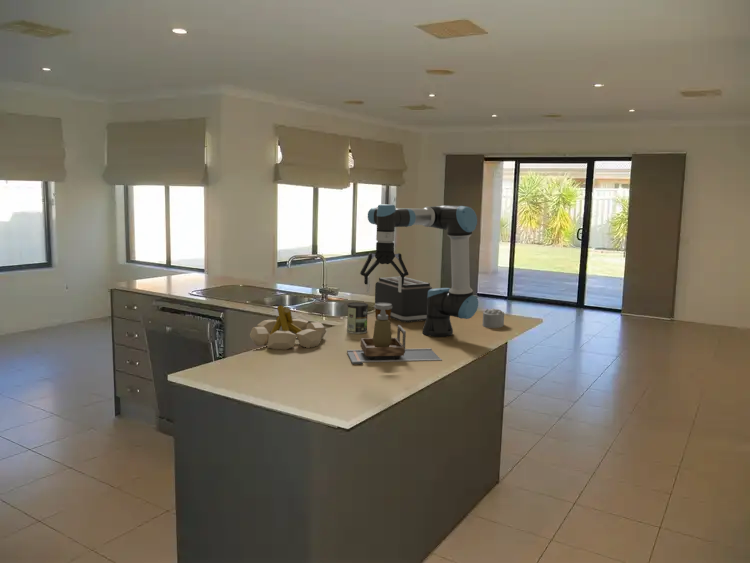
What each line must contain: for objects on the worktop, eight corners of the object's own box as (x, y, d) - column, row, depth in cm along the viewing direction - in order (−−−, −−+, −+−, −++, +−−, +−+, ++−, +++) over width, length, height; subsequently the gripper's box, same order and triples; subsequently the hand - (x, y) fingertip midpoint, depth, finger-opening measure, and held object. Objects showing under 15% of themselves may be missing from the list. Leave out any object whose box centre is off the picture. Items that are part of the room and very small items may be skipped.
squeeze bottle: (378, 351, 261) (379, 309, 259) (369, 346, 269) (370, 305, 266) (394, 349, 265) (396, 307, 262) (385, 344, 272) (387, 304, 269)
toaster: (399, 308, 376) (400, 275, 373) (432, 320, 347) (434, 283, 344) (371, 311, 367) (372, 276, 363) (403, 323, 337) (404, 285, 334)
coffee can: (369, 330, 319) (369, 302, 316) (364, 334, 309) (365, 306, 306) (349, 328, 321) (350, 301, 318) (344, 333, 311) (345, 305, 308)
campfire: (261, 331, 311) (260, 297, 308) (328, 333, 310) (329, 300, 307) (243, 349, 276) (243, 312, 274) (320, 352, 275) (320, 314, 272)
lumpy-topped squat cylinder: (505, 324, 339) (506, 309, 338) (497, 329, 328) (498, 313, 327) (487, 322, 344) (488, 306, 343) (479, 326, 333) (479, 310, 332)
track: (431, 351, 280) (431, 348, 280) (441, 362, 263) (442, 359, 263) (347, 353, 274) (347, 350, 274) (352, 364, 256) (352, 361, 256)
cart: (398, 350, 277) (398, 324, 275) (405, 360, 261) (406, 332, 259) (360, 350, 274) (360, 324, 272) (365, 361, 258) (366, 333, 256)
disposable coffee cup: (370, 327, 324) (371, 304, 322) (377, 323, 333) (378, 301, 331) (388, 329, 321) (388, 306, 319) (394, 325, 329) (395, 303, 328)
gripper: (356, 242, 254) (355, 293, 257) (416, 242, 258) (414, 293, 262) (354, 240, 261) (353, 290, 265) (412, 241, 266) (410, 290, 269)
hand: (383, 292), depth 263 cm, fingers open, 13 cm apart
